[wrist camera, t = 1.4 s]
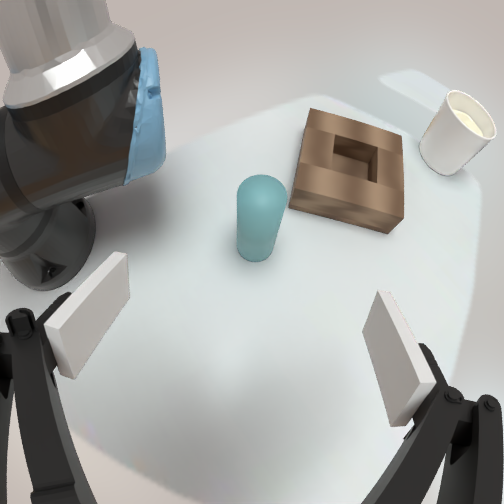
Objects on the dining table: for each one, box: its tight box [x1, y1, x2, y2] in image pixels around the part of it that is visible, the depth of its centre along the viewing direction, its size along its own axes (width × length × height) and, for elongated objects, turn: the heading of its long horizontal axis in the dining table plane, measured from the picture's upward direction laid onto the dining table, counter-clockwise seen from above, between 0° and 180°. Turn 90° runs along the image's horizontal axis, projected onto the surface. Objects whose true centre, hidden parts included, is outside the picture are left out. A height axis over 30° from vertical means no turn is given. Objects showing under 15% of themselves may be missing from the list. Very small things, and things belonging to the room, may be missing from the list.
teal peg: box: [237, 175, 287, 262], centre depth 33 cm, size 4×4×12 cm
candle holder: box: [419, 90, 496, 176], centre depth 40 cm, size 10×10×12 cm
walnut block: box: [289, 108, 404, 234], centre depth 40 cm, size 14×14×5 cm
